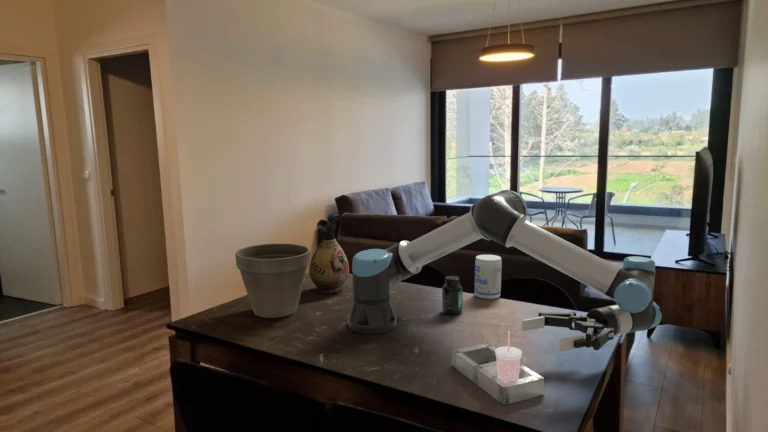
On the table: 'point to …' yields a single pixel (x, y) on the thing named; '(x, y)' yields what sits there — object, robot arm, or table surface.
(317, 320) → the table surface
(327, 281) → the ceramic jug
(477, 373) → the grey hollow block
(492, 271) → the supplement tub
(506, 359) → the beverage cup
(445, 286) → the supplement bottle
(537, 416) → the table surface
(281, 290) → the plant pot
